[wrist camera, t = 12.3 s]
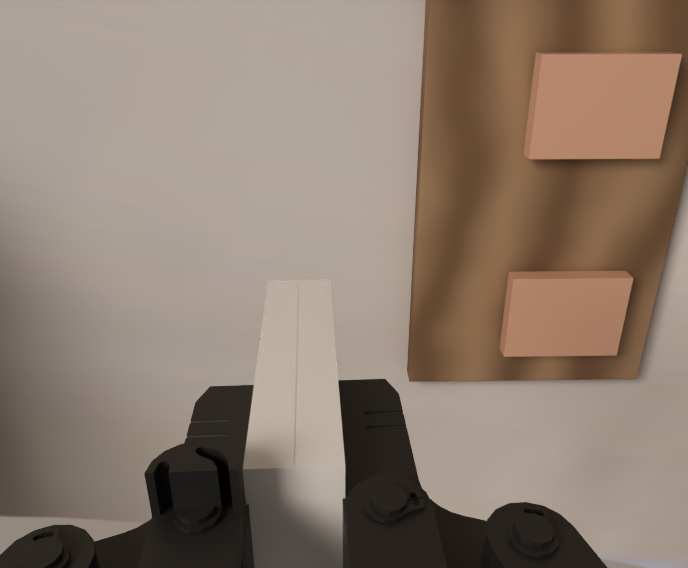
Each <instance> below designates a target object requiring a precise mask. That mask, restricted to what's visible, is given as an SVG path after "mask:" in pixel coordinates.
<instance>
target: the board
mask: <svg viewBox="0 0 688 568" xmlns="http://www.w3.org/2000/svg"><path fill="white" fill-rule="evenodd" d="M536 52H674V53H679V54H682V57H681V62H680V66H679V71H678V75H677V80H676V85H675V89H674V94H673V98H672V103H671V108H670V112H669V117H668V121H667V126H666V131H665V135H664V140H663V145H662V149H661V154H660V158H659V159H528V158H527V157H525V156H524V155H523V153H524V145H525V137H526V129H527V120H528V112H529V104H530V96H531V88H532V80H533V72H534V63H535V55H536ZM687 163H688V0H426V10H425V30H424V50H423V69H422V89H421V109H420V129H419V148H418V168H417V188H416V208H415V227H414V247H413V267H412V287H411V306H410V326H409V346H408V366H407V372H408V377H409V381H410V382H412V381H497V380H582V379H636V378H637V374H638V370H639V366H640V361H641V357H642V353H643V349H644V345H645V340H646V336H647V332H648V328H649V323H650V319H651V315H652V311H653V307H654V302H655V298H656V294H657V290H658V285H659V281H660V277H661V273H662V269H663V264H664V260H665V256H666V252H667V248H668V243H669V239H670V235H671V231H672V226H673V222H674V218H675V214H676V210H677V205H678V201H679V197H680V193H681V188H682V184H683V180H684V176H685V172H686V167H687ZM536 271H627V272H628V273H629V274H630V275H631V276H632V277H633V283H632V287H631V292H630V296H629V301H628V306H627V310H626V315H625V320H624V324H623V329H622V333H621V338H620V343H619V347H618V352H617V355H615V356H525V357H504V356H503V354H502V352H501V350H500V340H501V332H502V324H503V316H504V307H505V299H506V291H507V283H508V275H509V272H536Z"/></svg>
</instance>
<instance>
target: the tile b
mask: <svg viewBox="0 0 688 568" xmlns="http://www.w3.org/2000/svg"><path fill="white" fill-rule="evenodd" d="M681 57H682V54H679V53H674V52H536V55H535V63H534V72H533V80H532V88H531V96H530V104H529V112H528V120H527V129H526V137H525V145H524V153H523V155H524V156H525V157H527V158H528V159H659V158H660V154H661V149H662V145H663V140H664V135H665V131H666V126H667V121H668V117H669V112H670V108H671V103H672V98H673V94H674V89H675V85H676V80H677V75H678V71H679V66H680V62H681Z"/></svg>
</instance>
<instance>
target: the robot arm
mask: <svg viewBox="0 0 688 568" xmlns="http://www.w3.org/2000/svg"><path fill="white" fill-rule="evenodd" d="M145 479H146V484H147V490H148V495H149V501H150V507H151V512H152V519H151V520H149V521H148V522H146V523H144V524H143V525H141V526H139V527H138V528H135V529H133V530H130V531H127V532H125V533H122V534H119V535H115V536H112V537H109V538H105V539H102V540H99V541H95V542H94V540H93V539H92V537H91V536H90V535H89V534H88V533H87V532H86V530H84V529H81V528H79V527H76V526H73V525H52V526H49V527H45V528H42V529H38V530H35V531H33V532H31V533H29V534H27V535H25V536H24V537H22V538H20V539H18V540H16V541H15V542H14V543H13V544H12V545H11V546H9V547H8V548H7V549H6V550H5V551H4V552H3V553H2V554H1V555H0V568H607V567H606V565H605V564H604V563H603V562H602V561H601V559H600V558H599V557H598V556H597V554H596V553H595V552H594V551H593V550H592V548H591V547H590V546H589V545H588V543H587V542H586V541H585V540H584V539H583V537H582V536H581V535H580V534H579V532H578V531H577V530H576V529H575V528H574V526H573V525H572V524H570V523H569V522H568V521H567V520H566V519H565V518H564V517H563V516H561V515H560V514H559V513H557V512H555V511H553V510H551V509H549V508H547V507H545V506H541V505H537V504H532V503H527V502H522V503H509V504H507V505H505V506H502V507H500V508H498V509H496V510H495V511H494V512H493V513H492V515H491V516H490V517H489V518H488V520H487V521H484V520H480V519H475V518H471V517H466V516H462V515H459V514H456V513H452V512H450V511H448V510H446V509H444V508H442V507H440V506H438V505H437V504H436V503H435V502H433V501H432V500H431V499H430V498H429V497H428V495H427V493H426V492H425V491H424V490H423V489H422V487H421V485H420V482H419V479H418V475H417V471H416V466H415V462H414V458H413V453H412V449H411V445H410V440H409V436H408V432H407V428H406V423H405V419H404V414H403V410H402V406H401V401H400V397H399V393H398V392H397V391H396V390H395V389H394V388H393V387H392V386H391V385H390V384H389V383H388V382H387V380H386V379H369V380H339V381H338V371H337V359H336V347H335V335H334V323H333V311H332V299H331V287H330V279H321V280H282V281H268V283H267V290H266V298H265V305H264V313H263V320H262V328H261V335H260V343H259V350H258V358H257V366H256V373H255V381H254V385H242V386H212V387H209V388H208V390H207V391H206V392H205V393H204V394H203V395H202V396H201V397H200V398H199V399H198V400H197V401H196V403H195V407H194V410H193V414H192V418H191V424H190V425H189V429H188V433H187V438H186V440H185V444H180V445H178V446H176V447H173V448H171V449H169V450H166V451H164V452H163V453H162V454H161V455H159V456H158V457H157V458H155V459H154V460H153V461H152V462H151V464H150V465H149V467H148V469H147V470H146V472H145Z"/></svg>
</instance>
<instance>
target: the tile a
mask: <svg viewBox="0 0 688 568" xmlns="http://www.w3.org/2000/svg"><path fill="white" fill-rule="evenodd" d="M632 283H633V277H632V276H631V275H630V274H629V273H628V272H627V271H536V272H509V275H508V283H507V291H506V299H505V307H504V316H503V324H502V332H501V340H500V350H501V352H502V354H503V356H504V357H525V356H615V355H617V352H618V347H619V343H620V338H621V333H622V329H623V324H624V320H625V315H626V310H627V306H628V301H629V296H630V292H631V287H632Z"/></svg>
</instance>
